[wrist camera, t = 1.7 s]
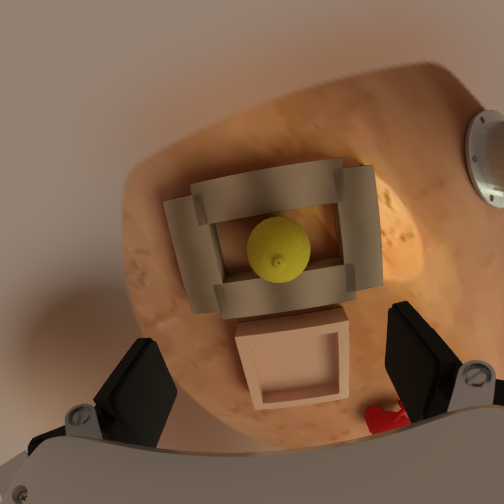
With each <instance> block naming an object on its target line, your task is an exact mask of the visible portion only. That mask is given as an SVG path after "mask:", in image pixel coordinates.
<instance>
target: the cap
mask: <svg viewBox="0 0 504 504" xmlns="http://www.w3.org/2000/svg"><path fill="white" fill-rule="evenodd" d="M398 404H399V406H400V407H401V408H402V409H401V410H399V411H398V412H392V411H385V412H384V411H383V410H382V409H381V408H379V407H377V406H371V407H369V408H368V409H367V410H366V413H365V420H366V423H367V426H368V428H369V431H370V433H372V434H373V435H374V434H378V433H382V432H386V431H389V430H393V429H396V428H400V427H403V426H406V425H409V424H411V422H410V420H409V418H408V415H407V413H406V411H405V409H404V407H403V404H402V402H401V401H399V402H398Z"/></svg>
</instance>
